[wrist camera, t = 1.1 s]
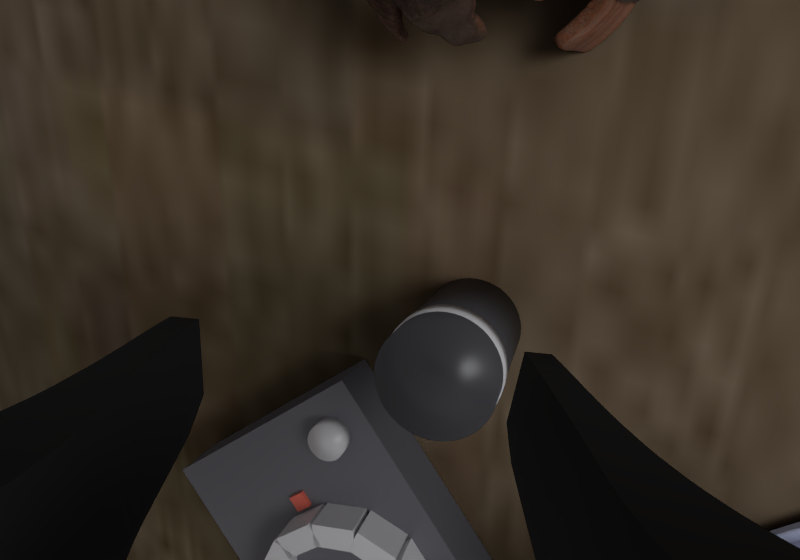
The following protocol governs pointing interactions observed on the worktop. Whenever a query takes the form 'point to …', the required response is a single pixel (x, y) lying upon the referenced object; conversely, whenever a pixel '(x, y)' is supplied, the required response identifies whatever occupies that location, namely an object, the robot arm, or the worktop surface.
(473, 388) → the lens
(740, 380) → the worktop surface
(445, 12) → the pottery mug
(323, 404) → the camera body
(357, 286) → the worktop surface
